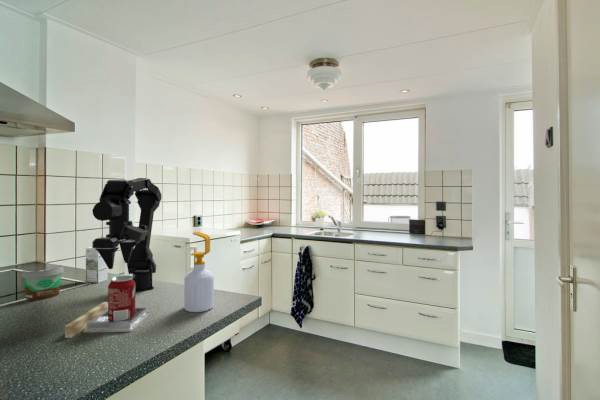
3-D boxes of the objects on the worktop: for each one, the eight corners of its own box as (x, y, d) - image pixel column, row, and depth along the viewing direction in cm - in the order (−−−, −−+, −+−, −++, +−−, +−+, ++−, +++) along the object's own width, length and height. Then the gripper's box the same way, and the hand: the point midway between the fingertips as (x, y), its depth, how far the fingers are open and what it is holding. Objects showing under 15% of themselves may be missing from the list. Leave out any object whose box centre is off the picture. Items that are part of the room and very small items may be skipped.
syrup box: (108, 279, 137) (108, 245, 137) (98, 283, 131) (98, 247, 131) (95, 279, 138) (95, 245, 138) (85, 282, 132) (85, 247, 132)
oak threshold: (103, 311, 100) (103, 302, 100) (108, 311, 100) (108, 302, 100) (65, 337, 82) (64, 326, 82) (71, 337, 82) (71, 325, 82)
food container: (28, 303, 106) (27, 273, 106) (20, 300, 110) (20, 271, 110) (70, 294, 117) (70, 266, 117) (62, 291, 120) (62, 264, 120)
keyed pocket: (107, 315, 97) (107, 307, 97) (148, 314, 98) (148, 307, 98) (84, 332, 85) (83, 323, 85) (131, 331, 86) (131, 323, 86)
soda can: (130, 324, 89) (130, 280, 89) (104, 325, 88) (104, 281, 87) (138, 314, 96) (138, 274, 95) (113, 316, 94) (113, 275, 94)
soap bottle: (190, 302, 109) (190, 230, 109) (217, 303, 109) (217, 230, 108) (179, 312, 100) (180, 233, 100) (208, 313, 100) (209, 234, 99)
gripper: (128, 220, 96) (128, 273, 96) (156, 216, 115) (156, 260, 115) (91, 220, 96) (91, 272, 97) (125, 216, 115) (125, 259, 115)
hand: (119, 265), depth 106 cm, fingers open, 9 cm apart
